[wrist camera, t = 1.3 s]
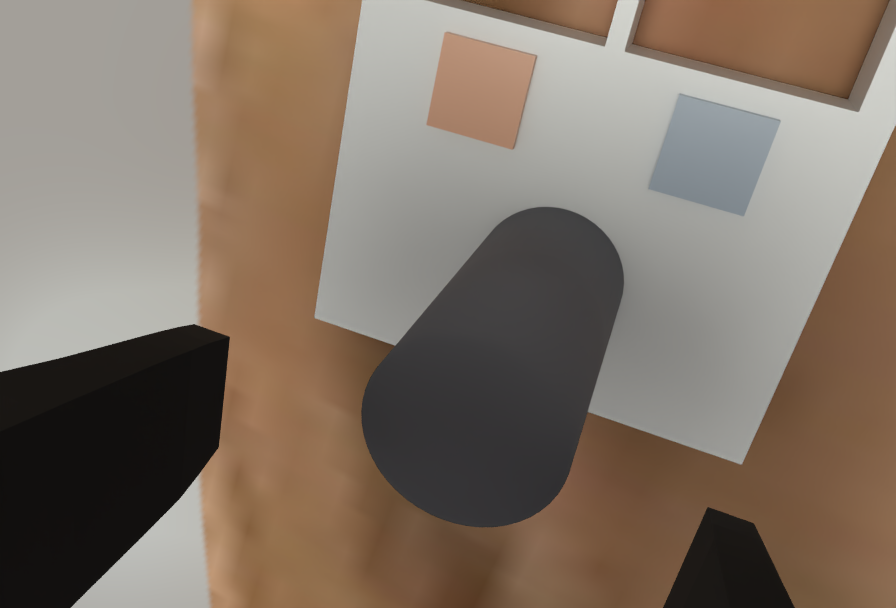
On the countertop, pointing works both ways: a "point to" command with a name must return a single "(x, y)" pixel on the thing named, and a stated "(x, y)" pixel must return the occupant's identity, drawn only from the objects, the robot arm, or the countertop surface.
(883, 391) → the countertop surface
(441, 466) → the plug
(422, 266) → the socket board
